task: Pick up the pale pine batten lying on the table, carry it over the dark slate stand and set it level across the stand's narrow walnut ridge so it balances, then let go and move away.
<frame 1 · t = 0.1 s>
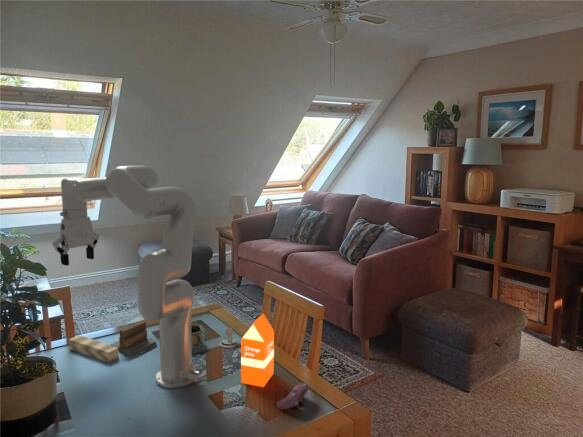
hand: (78, 261, 154), 31 cm above the table, tool pointing down, fingers open, 9 cm apart
pine batten: (93, 354, 152), on the table
vessel: (190, 345, 161), on the table
purple oblong lump: (294, 404, 125), on the table
ridge stand: (133, 346, 158), on the table
orange juice: (257, 378, 138), on the table
pacifier: (228, 345, 161), on the table
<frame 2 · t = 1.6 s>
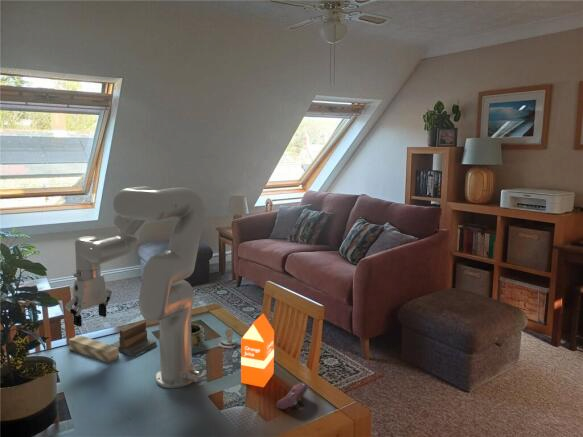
hand: (90, 320, 151), 12 cm above the table, tool pointing down, fingers open, 9 cm apart
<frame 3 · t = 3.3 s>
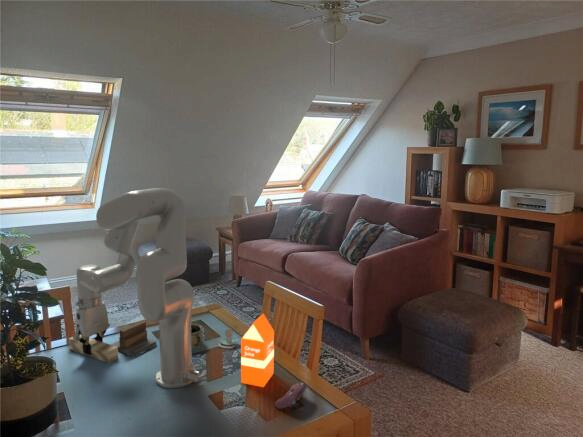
hand: (93, 350, 152), 1 cm above the table, tool pointing down, fingers closed on pine batten, 4 cm apart
pine batten: (93, 353, 152), on the table, touching gripper
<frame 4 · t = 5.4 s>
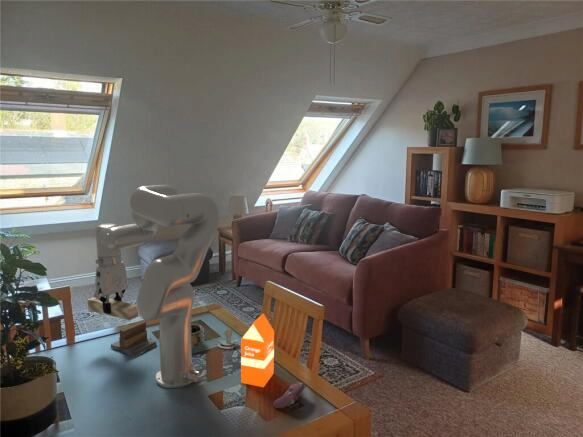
hand: (112, 310, 152), 15 cm above the table, tool pointing down, fingers closed on pine batten, 4 cm apart
pine batten: (112, 313, 152), point 14 cm above the table, touching gripper
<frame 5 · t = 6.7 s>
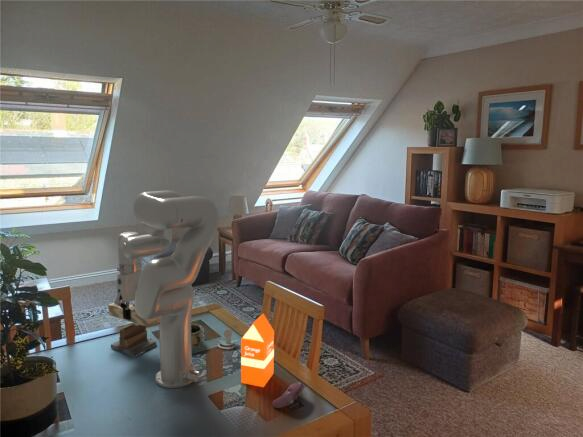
hand: (132, 316, 156), 12 cm above the table, tool pointing down, fingers closed on pine batten, 4 cm apart
pine batten: (132, 318, 156), point 11 cm above the table, touching gripper
when the fingers open (10 cm above the table, at t = 7.7 s): pine batten drops 1 cm, resting on ridge stand.
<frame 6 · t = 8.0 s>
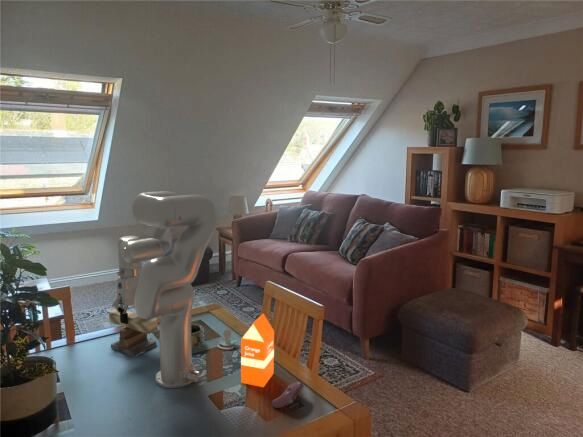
hand: (132, 319, 156), 10 cm above the table, tool pointing down, fingers open, 6 cm apart
pine batten: (133, 325, 156), point 8 cm above the table, touching ridge stand
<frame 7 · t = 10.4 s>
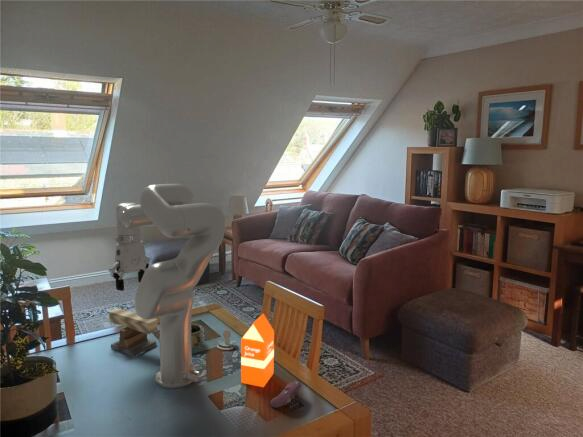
hand: (131, 286, 154), 23 cm above the table, tool pointing down, fingers open, 9 cm apart
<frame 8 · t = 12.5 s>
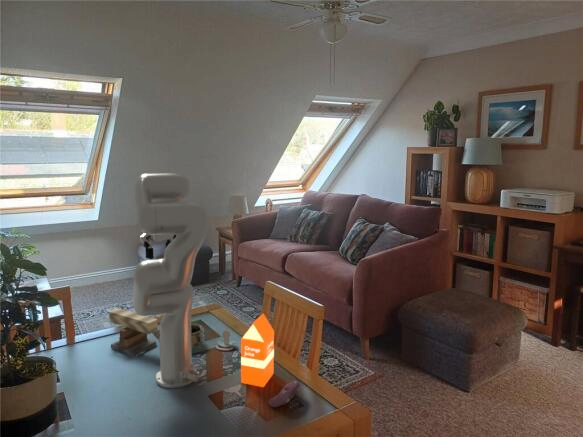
hand: (159, 255, 159), 32 cm above the table, tool pointing down, fingers open, 9 cm apart
at the end: pine batten 0.1 cm off-centre on the ridge stand, point 8.0 cm above the ridge stand's base; pine batten tilted 0°; pine batten touching ridge stand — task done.
